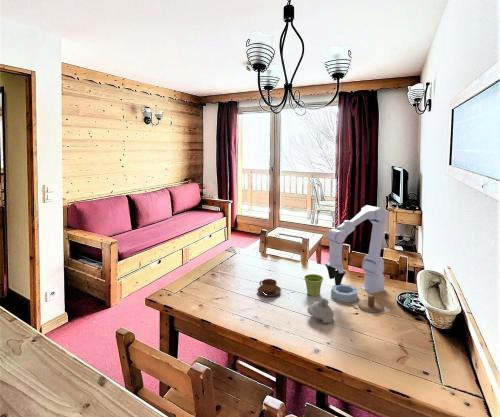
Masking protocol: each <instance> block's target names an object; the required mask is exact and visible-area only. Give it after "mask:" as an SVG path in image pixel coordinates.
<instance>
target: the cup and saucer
mask: <svg viewBox="0 0 500 417" xmlns="http://www.w3.org/2000/svg"><path fill="white" fill-rule="evenodd" d="M257 292H258V293H259V294H260V295H261V296H263V297H264V296H265V297H274V296H275V297H276V296H277V295H279V294H280V293H281V292H282V289H281V287H280V286H278V285H277V280H275V279H272V278H266V279H263V280H260V281H259V286H258V288H257ZM263 292H264V293H265V294H267V295H265V294H264V293H263Z"/></svg>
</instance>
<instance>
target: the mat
mask: <svg viewBox="0 0 500 417" xmlns="http://www.w3.org/2000/svg"><path fill="white" fill-rule="evenodd" d="M359 302H360V301H359ZM359 302H353V303H351V306H354V307H355V308H356V309H358V310H360V311H361V312H363V313H364V314H365V315H367V316H369V317H373V316H376V315H380V314H384V313H389V312H391V311H392V310H391V309H389V308H387V307H385V306H384V310H383V312H381V313H368V312H365V311H363V310H361V309H360V308H359V307H358V303H359Z"/></svg>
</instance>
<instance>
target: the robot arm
mask: <svg viewBox="0 0 500 417" xmlns="http://www.w3.org/2000/svg"><path fill="white" fill-rule="evenodd" d="M386 217H387V211H386V209H385V208H384V207H378V206H374V205H373V206H372V205H369V204H366V205H364V206H363V207H361V209H360V211H359V212H358V213H356V215H355V216H354V217H353V218H351V219H350V220H349V219H347V220H344V221H343V222H342V223H341V224H339V225H338V226H337V227H335V228H331V229H329V231H328V232H327V234H326V238H327V240H328V243H329V249H328V250H329V251H328V252H329V254H328V256H329V257H328V258H327V262H326V264H324V265H325V267H326V270H327V273H328V277H329V280H333V279H334V285H336V286H338V285H340V284H342V281H343V278H344V276H345V275H346V274H347V273H346V271H345V270H344V266H343V261H342V260H343V258H342V257H343V243H344V242H345V240H346V239H347V236H349V235H350V234H351V233H352V232H354V231H355V229H356V226H358V225H360V224H361V223H362V222H364V221H366V220H369V221H370V223H371V224H372V228H371V234H370V242H369V248H368V254H367V255H365V256H364V257H363V261H362V263H361V269H363V273H364V284H363V286H360V288H361V290H364V291H365V292H367V293H369V294H376V293H379V292H385V291H386V289H385V280H386V277H385V274H383V273H384V272H385V264H384V263H385V261H384V259H383V258H382V257H381V252H382V251H381V250H382V244H383V237H384V230H385V224H386Z"/></svg>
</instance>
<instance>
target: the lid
mask: <svg viewBox="0 0 500 417" xmlns="http://www.w3.org/2000/svg"><path fill="white" fill-rule="evenodd" d="M357 303H358V302H357ZM358 307H359V308H360V309H361V310H363V311H365V312H368V313H381V312H383V310H384V307H385V306H384V304H383V303H382V302H379V301H376V298H375V295H373V294H368V295H367V299H362V300H361V299H360V300H359V303H358ZM360 309H359V310H360ZM361 310H360V311H361ZM363 311H362V312H363ZM381 314H382V313H381Z"/></svg>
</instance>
